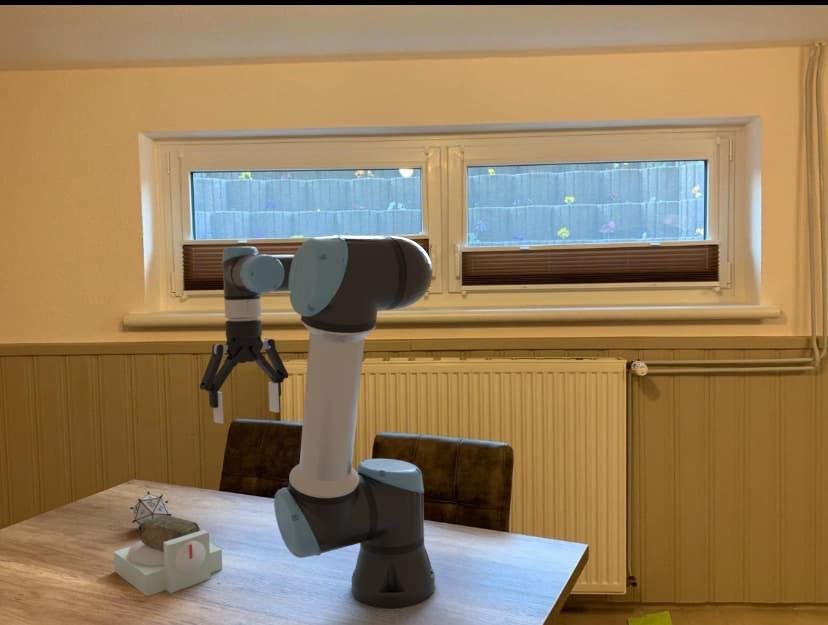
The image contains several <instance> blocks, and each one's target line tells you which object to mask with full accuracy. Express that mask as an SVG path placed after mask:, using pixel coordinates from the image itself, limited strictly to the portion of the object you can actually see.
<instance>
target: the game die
mask: <svg viewBox="0 0 828 625" xmlns="http://www.w3.org/2000/svg"><path fill="white" fill-rule="evenodd" d="M146 493H147V494H146V495H145V496H144V497H143V498H137V501H138V502H137V503H136V504H135V505H134V506H130V507H129V509H130V510H132V511H133V516H134V517H133V518H134V519H133V520H132V521H131V523H132V524H134V523H137V524H138V525H139V526H138V529H142V524H143V522H146V521H148V520H151V519H153V518H156V517H159V516H162V515H168V516H172V517H173V514H171V513H169V511H168V507H167V504H168V503H169V500H166V501H165V500H164V499H163V497H164V495H163V494H160V495H159V496H157V495H154V494H151V493H150V491H149V490H148V491H147V492H146Z"/></svg>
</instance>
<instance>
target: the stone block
mask: <svg viewBox="0 0 828 625" xmlns="http://www.w3.org/2000/svg"><path fill="white" fill-rule="evenodd" d="M198 531H201V529H200V526H199V524H198V523H197V522H196V521H192V520H191V521H190V520H189V519H188V520H187V519H183V518H179V517H175V516H173V515H172V516H168V515H162V516H159V517H156V518H153V519H151V520H148V521H146V522H143V524H142V526H141V534H140V536H141V537H140V538H141V539H140V540H141V541H142V543H144V544H145V545H147V546H150V547H152V548H156V549H159V550H163V551H164V546H163V542H166V541H169V540H172V539H176V538H179V537H182V536H185V535H188V534H192V533H195V532H198Z"/></svg>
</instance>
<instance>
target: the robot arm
mask: <svg viewBox="0 0 828 625" xmlns="http://www.w3.org/2000/svg"><path fill="white" fill-rule="evenodd" d="M221 266H222V276H223V277H222V278H223V296H224V318H226V319H227V320H226V321H225V338H226V342H225V344H219V343H214V344H212V351H211V357H210V359H209V362H208V364H207V365H206V369H205V371H204V374H203V376H202V379H201V382H200V384H199V389H200V390H201V391H206V392H208V397H209V407H210V408H212V409H213V410H212V411H213V412H212V413H213V422H214V423H216V424H224V404H223V403H224V401H223V399H224V398H223V391H220V389H221V388H222V386H223V385H224V383H225V381H227V379H228V377H229V375H230V374H231V373H232V372H233V369H234V368H235V367H236V366H237V365H238V364H245V363H247V362H249V363H253V362H255V363H256V364H257V365H258V367H259V368H261V370H262V371H263V372H264V373H265V374H266V376H267V377H268V378H269V379H270V380H271V381H269V382H268V403H269V404H268V408H269V412H272V413H277V414H278V413H280V402H279V400H280V397H281V396H282V384H283V382H285V380H286V379H288V378H289V375H290V374H289V373H288V371H287V369H286V366H285V365H284V363H283V360H282V359H281V357H280V355H279V353H278V351H277V348H276V343H275V342H276V341H275V339H274V338H264V339H263V340H262V335H263V329H262V320H261V319H259V318H261V317H262V305H261V294H268V293H271V292H272V293H275V292H279V293H280V292H290V294H289V301H290V304H291V306H292V309H293V310H294V311H295V313H296V314H298V315H300V322H301V323H302V324H303V326H304V328H306V329H307V331H309V336H308V337H309V339H308V349H307V350H308V352H307V363H306V364H307V365H306V376H305V377H306V379H305V392H304V403H303V404H304V405H303V416H302V431H301V442H300V443H301V444H300V455H299V456H300V457H299V463H298V464H297V465H295V466H294V467H293V468H292V469H291V471H290V473H289V477H288V478H289V479H288V486H287V487H282V488H281V489H278V490H277V491H276V493H275V494H274V499H273V506H274V515H275V519H276V523H277V526H278V530H279V532H280V536H281V539H282V540H283V542H284V545H285V546H286V548H287V549H288V552H290V553H291V554H292V555H293V556H294V557H296V558H299V559H300V558H308V557H313V556H314V557H315V556H316V557H317V556H321V554H324V553H329V552H332V551H336V550H340V549H342V548H346V547H350V546H354V545H358V544H359V552H358V555H357V559H356V563H355V564H356V565H355V569H353V572H352V575H351V592H352V595H353V596H354V597H355V598H356V599H357V600H358V601H360V602H361V603H363V604H364V605H365V604H366V605H368V606H372V607H378V608H386V609H387V608H388V609H390V608H391V609H394V608H402V607H409V606H412V605H416V604H418V603H421V602H423V601H425V600H427V599H428V598H430V596H432V594H433V593H434V591H435V589H436V584H435V583H436V582H435V581H436V578H435V577H436V576H435V572H434V568H433V567H432V565H431V561H430V558H429V555H428V551H427V548H426V546H425V524H424V522H425V519H424V518H425V516H424V515H425V514H424V512H425V511H424V493H425V488H424V483H423V481H424V480H423V474H422V471H421V470H420V468H419V467H418V466H416V465H415V464H414V463H410V462H408V461H404V460H401V459H400V460H398V459H393V458H390V459H389V458H368V459H363V460H362V461H359V463H358V465H357V468H356V469H355V468H353V466H352V465H353V458H354V457H353V456H354V447H355V437H356V429H357V428H356V427H357V420H358V419H357V417H358V408H359V398H360V388H361V379H362V370H363V359H364V349H365V342H366V341H365V340H366V336H367V335H368V334H370V333H371V332H372V331H374V330H375V329H376V327H377V319H378V318H377V317H378V313H379V312H380V311H390V310H398V309H403V308H406V307H409V306H411V305H413V304H415V303H417V302H418V301H419V300H420V299H422V298H423V297H424V296H425V295H426V293H427V291H428V290H429V288H430V286H431V283H432V280H433V265H432V262H431V260H430V257H429V255H428V253H427V252H426V250H424V248H423V247H422V246H421V245H419V244H418V243H417V242H415V241H413V240H411V239H408V238H405V237H401V236H394V235H386V236H385V235H384V236H382V235H381V236H377V235H376V236H374V235H371V236H369V235H368V236H367V235H337V234H332V235H328V236H313V237H311V238H308V239H306V240H305V241H304V242H303V243H302V244H301V245H300V247H298V248H297V250H296V252H295V253H294V254H268V253H267V254H265V253H263V254H262V253H261V254H260V253H259V250H258V248H257V247H255V246H229V247H228V246H227V247H225V248H224V249H223V251H222V262H221ZM262 349H264V350H265V352H266V354H267V355H266V356H268V358H269V359H268V360H270V363H271V364H270V363H269V361H267V359H266V357H265V355H264V354H263V353H262V352H261V351H262ZM226 353H227V356H226V358H225V359H224V361H223V358H224V357H223V356H224V355H225V354H226ZM222 361H223V363H222ZM221 363H222V366H221V367H220V365H221Z"/></svg>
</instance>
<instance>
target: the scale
mask: <svg viewBox="0 0 828 625" xmlns="http://www.w3.org/2000/svg"><path fill="white" fill-rule="evenodd" d="M163 546H164V551H163V550H159V549H156V548H152V547H150V546H147V545H145V544H144V543H142V541H141V539H140V540H139V541H137V542H135V543H134V544H133V545H130V546H128V547H124V548H121V549H118V550H115V551H113V562H114V563H113V564H114V572H115V573H116V574H118V575H119V576H120V577H121V578H123V579H124V580H125V581H126V582H128V583H129V584H130V585H131V586H133V587H134V588H135V589H137V591H139V592H140V593H142V594H143V595H144V596H145V597H151V596H153V595H155V594H156V595H157V594H158V593H161V592H164V591H167V592H168V593H169V594H173V593H176V592H178V591H181V590H184V589H186V588H188V587H191V586H195V585H197V584H200V583H202V582H203V583H204V582H205V581H207V580H208V581H209V580H210V579H212V574H213V573H216V572H218V571H221V570H223V555H222V554H223V552H222V549H221V548H220V547H218V546H216V545H214V544H213V543H211V542H210V532H209V531H207V530H206V529H202V530H201V529H200V531H198V532H195V533H192V534H188V535H185V536H182V537H179V538H176V539H172V540H169V541H166V542H163Z"/></svg>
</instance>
